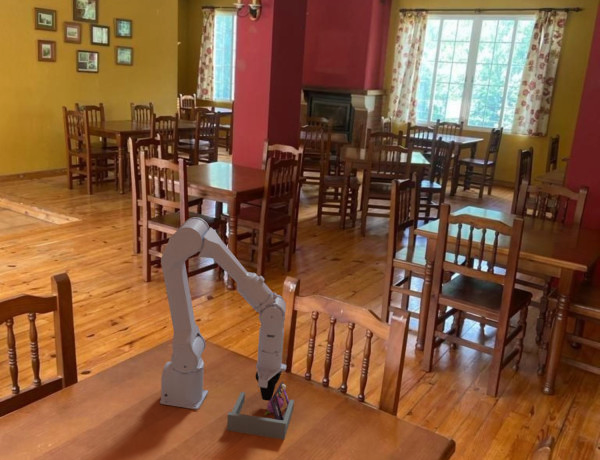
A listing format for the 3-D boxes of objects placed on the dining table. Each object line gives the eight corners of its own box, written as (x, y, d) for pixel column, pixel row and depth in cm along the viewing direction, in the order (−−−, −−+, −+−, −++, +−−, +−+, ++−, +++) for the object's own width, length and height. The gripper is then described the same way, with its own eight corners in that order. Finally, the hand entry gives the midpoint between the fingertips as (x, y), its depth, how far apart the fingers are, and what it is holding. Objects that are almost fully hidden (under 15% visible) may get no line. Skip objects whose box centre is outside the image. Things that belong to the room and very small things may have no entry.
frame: (226, 430, 127) (227, 414, 126) (240, 401, 139) (241, 386, 138) (284, 439, 126) (285, 423, 125) (293, 409, 137) (294, 394, 136)
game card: (274, 400, 128) (285, 381, 137) (253, 403, 130) (265, 383, 138) (282, 427, 130) (293, 406, 138) (261, 429, 131) (273, 408, 140)
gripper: (281, 364, 126) (277, 418, 130) (292, 336, 140) (288, 385, 144) (250, 360, 127) (247, 413, 131) (264, 332, 141) (261, 381, 145)
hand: (267, 398), depth 137 cm, fingers closed
